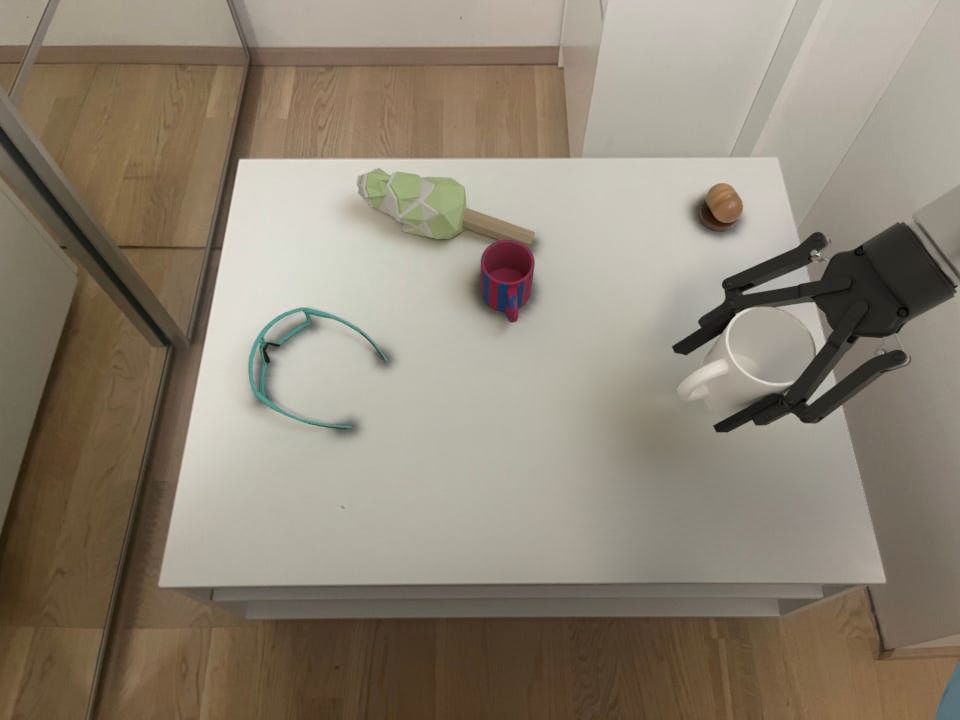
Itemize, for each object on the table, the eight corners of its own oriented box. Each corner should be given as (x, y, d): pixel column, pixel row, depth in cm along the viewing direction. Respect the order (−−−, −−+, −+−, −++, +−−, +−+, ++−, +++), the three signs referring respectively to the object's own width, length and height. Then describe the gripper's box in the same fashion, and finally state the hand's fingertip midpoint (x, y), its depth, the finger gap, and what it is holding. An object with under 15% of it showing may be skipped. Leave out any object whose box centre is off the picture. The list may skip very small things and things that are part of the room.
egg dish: (743, 227, 93) (757, 204, 89) (710, 237, 93) (722, 215, 88) (723, 196, 96) (736, 172, 91) (691, 205, 95) (702, 182, 90)
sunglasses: (291, 307, 88) (285, 289, 83) (394, 351, 87) (394, 335, 82) (235, 399, 82) (225, 384, 77) (344, 447, 81) (340, 435, 76)
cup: (529, 268, 90) (533, 239, 84) (532, 334, 86) (536, 308, 80) (480, 268, 90) (480, 239, 84) (480, 334, 86) (480, 308, 80)
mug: (682, 444, 68) (714, 409, 59) (648, 374, 71) (674, 330, 62) (786, 410, 70) (833, 370, 60) (749, 343, 73) (788, 295, 64)
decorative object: (540, 207, 94) (370, 146, 92) (544, 216, 85) (356, 148, 83) (519, 265, 97) (354, 208, 95) (520, 280, 88) (338, 216, 86)
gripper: (1020, 368, 53) (764, 484, 65) (871, 172, 61) (669, 307, 74) (1013, 360, 48) (735, 489, 60) (850, 145, 56) (636, 297, 68)
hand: (699, 388), depth 67 cm, fingers closed on mug, 8 cm apart
